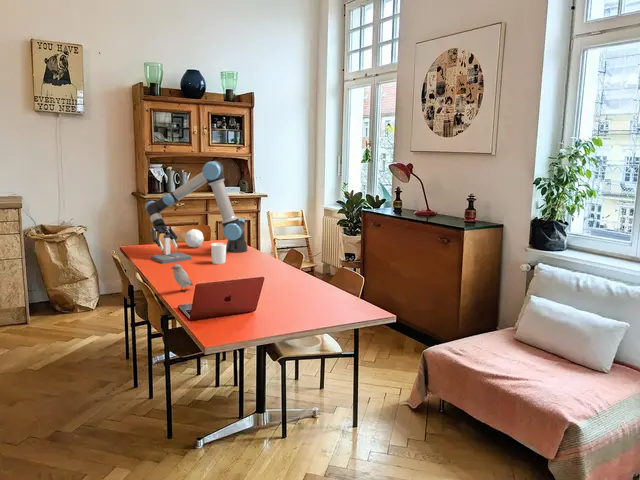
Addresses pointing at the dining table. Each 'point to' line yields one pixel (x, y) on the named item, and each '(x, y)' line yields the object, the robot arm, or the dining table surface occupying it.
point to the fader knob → (166, 244)
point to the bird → (181, 276)
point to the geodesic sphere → (194, 238)
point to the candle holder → (218, 253)
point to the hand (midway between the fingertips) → (169, 249)
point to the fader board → (171, 257)
